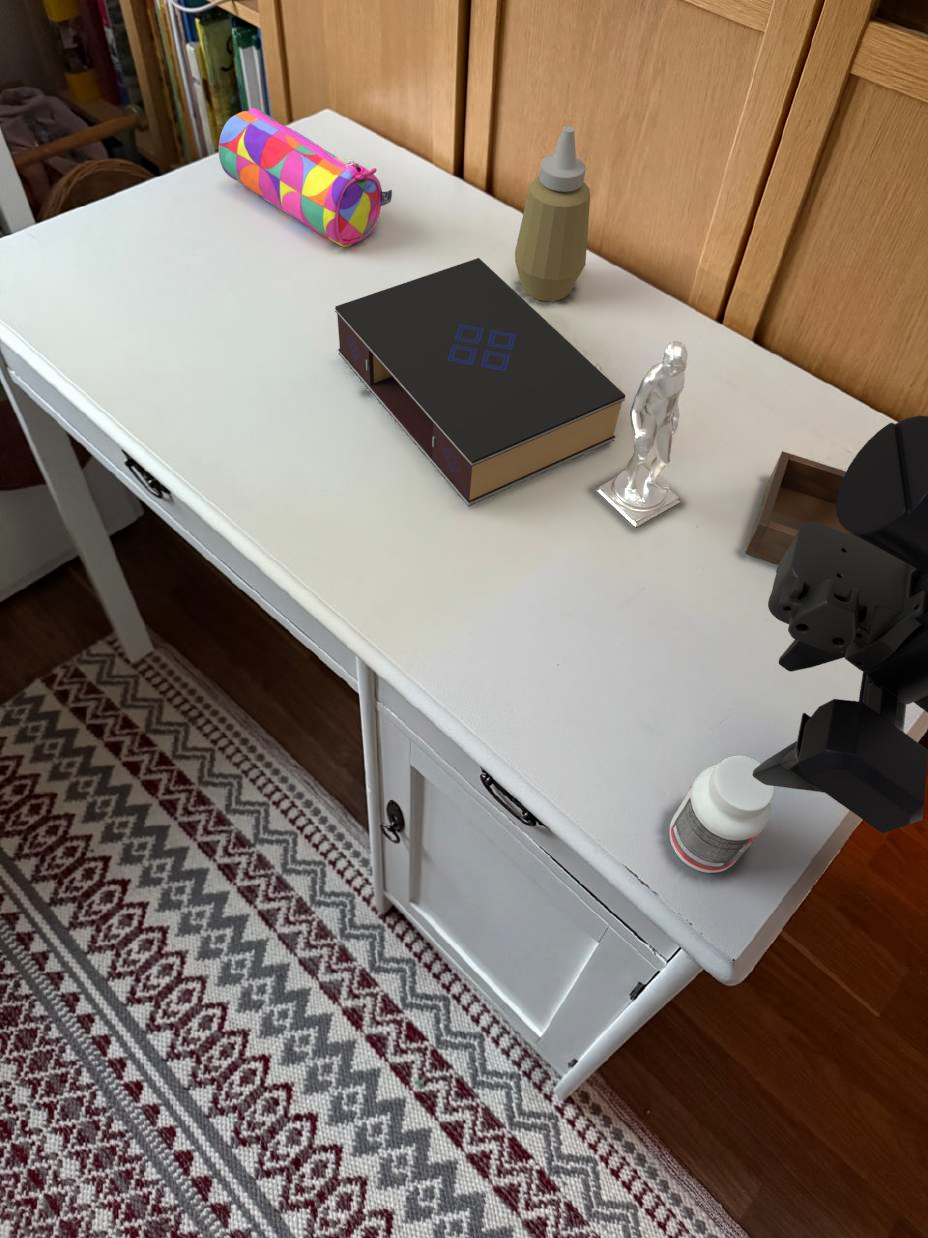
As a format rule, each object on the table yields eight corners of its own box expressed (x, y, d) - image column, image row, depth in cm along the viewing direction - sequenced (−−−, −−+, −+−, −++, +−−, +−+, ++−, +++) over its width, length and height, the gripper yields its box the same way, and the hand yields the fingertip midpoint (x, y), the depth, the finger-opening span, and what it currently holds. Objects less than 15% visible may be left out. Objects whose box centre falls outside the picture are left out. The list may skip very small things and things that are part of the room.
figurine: (613, 540, 83) (657, 386, 68) (574, 490, 87) (608, 333, 72) (687, 512, 86) (744, 357, 71) (646, 464, 89) (693, 307, 74)
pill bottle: (738, 882, 65) (784, 830, 57) (664, 865, 66) (699, 810, 58) (742, 814, 68) (786, 755, 60) (671, 797, 69) (706, 736, 61)
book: (467, 513, 84) (471, 461, 79) (338, 360, 96) (334, 306, 90) (613, 446, 90) (626, 394, 85) (475, 310, 102) (478, 257, 96)
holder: (871, 515, 87) (890, 485, 83) (854, 591, 81) (873, 562, 78) (768, 481, 89) (782, 450, 85) (744, 553, 83) (758, 523, 80)
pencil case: (397, 229, 110) (396, 155, 103) (344, 262, 106) (339, 187, 99) (271, 163, 118) (262, 89, 110) (216, 191, 113) (203, 117, 106)
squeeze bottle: (497, 289, 104) (512, 131, 90) (535, 258, 108) (555, 100, 94) (557, 317, 102) (582, 159, 87) (593, 283, 106) (623, 126, 91)
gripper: (888, 398, 49) (702, 548, 61) (847, 640, 37) (628, 766, 49) (1040, 518, 50) (829, 641, 62) (1046, 787, 39) (785, 875, 51)
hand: (771, 719), depth 56 cm, fingers open, 9 cm apart
